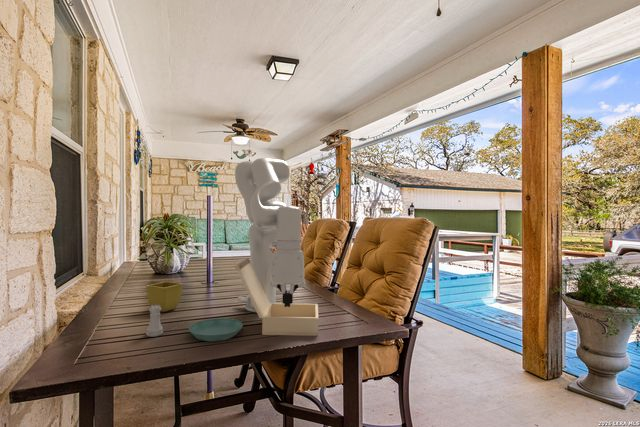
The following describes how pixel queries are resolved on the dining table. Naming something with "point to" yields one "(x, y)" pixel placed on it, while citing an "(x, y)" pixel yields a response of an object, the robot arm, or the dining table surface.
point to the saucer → (216, 329)
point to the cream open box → (290, 319)
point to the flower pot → (164, 295)
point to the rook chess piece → (154, 322)
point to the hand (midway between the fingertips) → (287, 305)
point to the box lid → (253, 286)
